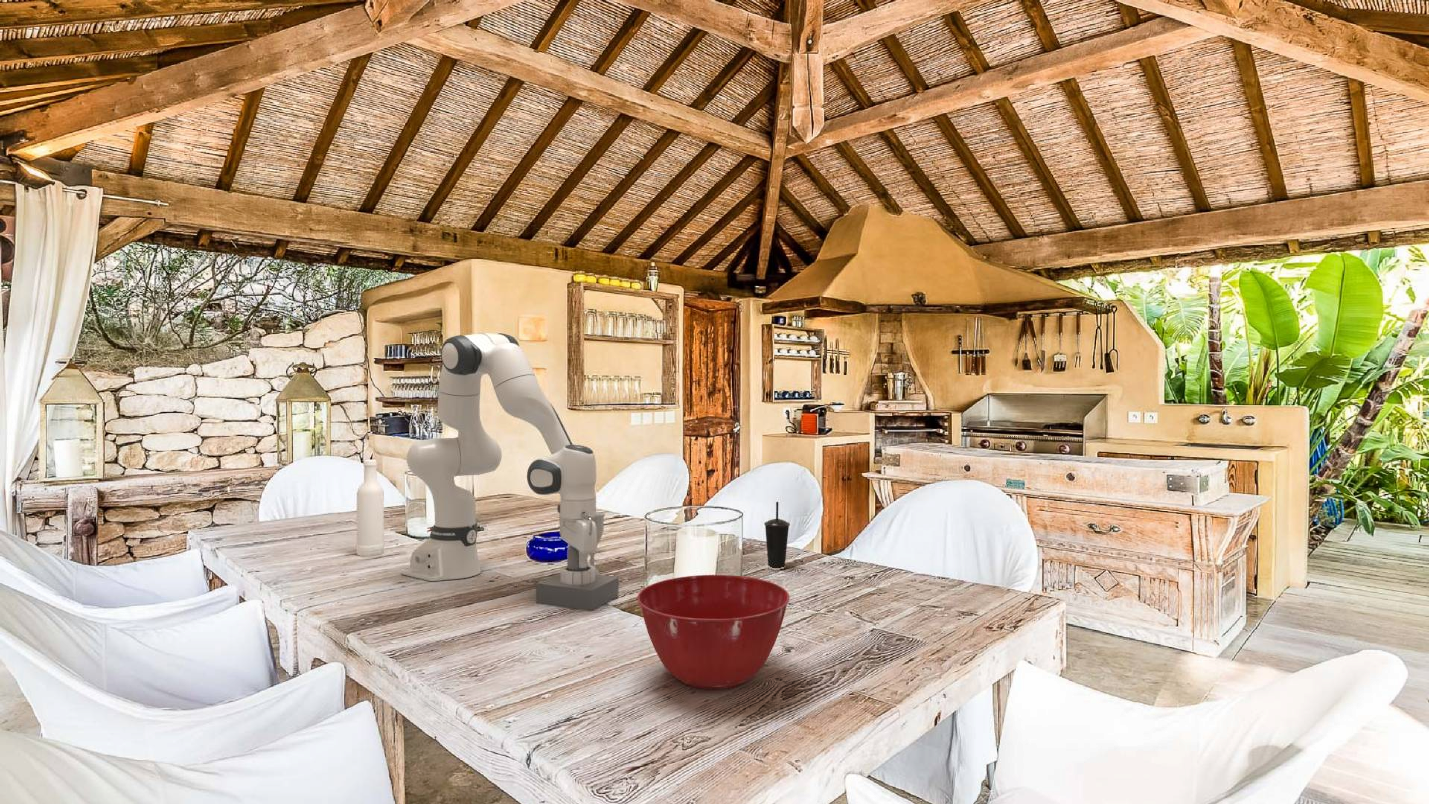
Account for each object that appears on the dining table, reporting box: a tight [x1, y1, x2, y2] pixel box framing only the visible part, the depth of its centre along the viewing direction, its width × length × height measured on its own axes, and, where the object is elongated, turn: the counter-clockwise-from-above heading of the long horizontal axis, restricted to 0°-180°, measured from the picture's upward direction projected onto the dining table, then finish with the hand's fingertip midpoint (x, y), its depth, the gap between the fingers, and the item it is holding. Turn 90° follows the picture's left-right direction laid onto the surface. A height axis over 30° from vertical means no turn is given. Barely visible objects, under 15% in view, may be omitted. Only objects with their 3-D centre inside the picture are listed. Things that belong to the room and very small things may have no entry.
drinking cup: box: [764, 501, 791, 568], centre depth 216 cm, size 8×8×20 cm
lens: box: [566, 547, 589, 572], centre depth 182 cm, size 5×5×8 cm
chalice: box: [588, 511, 606, 575], centre depth 203 cm, size 7×7×18 cm
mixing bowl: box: [637, 574, 791, 690], centre depth 135 cm, size 28×28×16 cm
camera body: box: [535, 564, 620, 612], centre depth 182 cm, size 16×13×8 cm
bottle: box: [356, 459, 385, 557], centre depth 230 cm, size 8×8×30 cm
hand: (578, 564), depth 182 cm, fingers open, 5 cm apart
